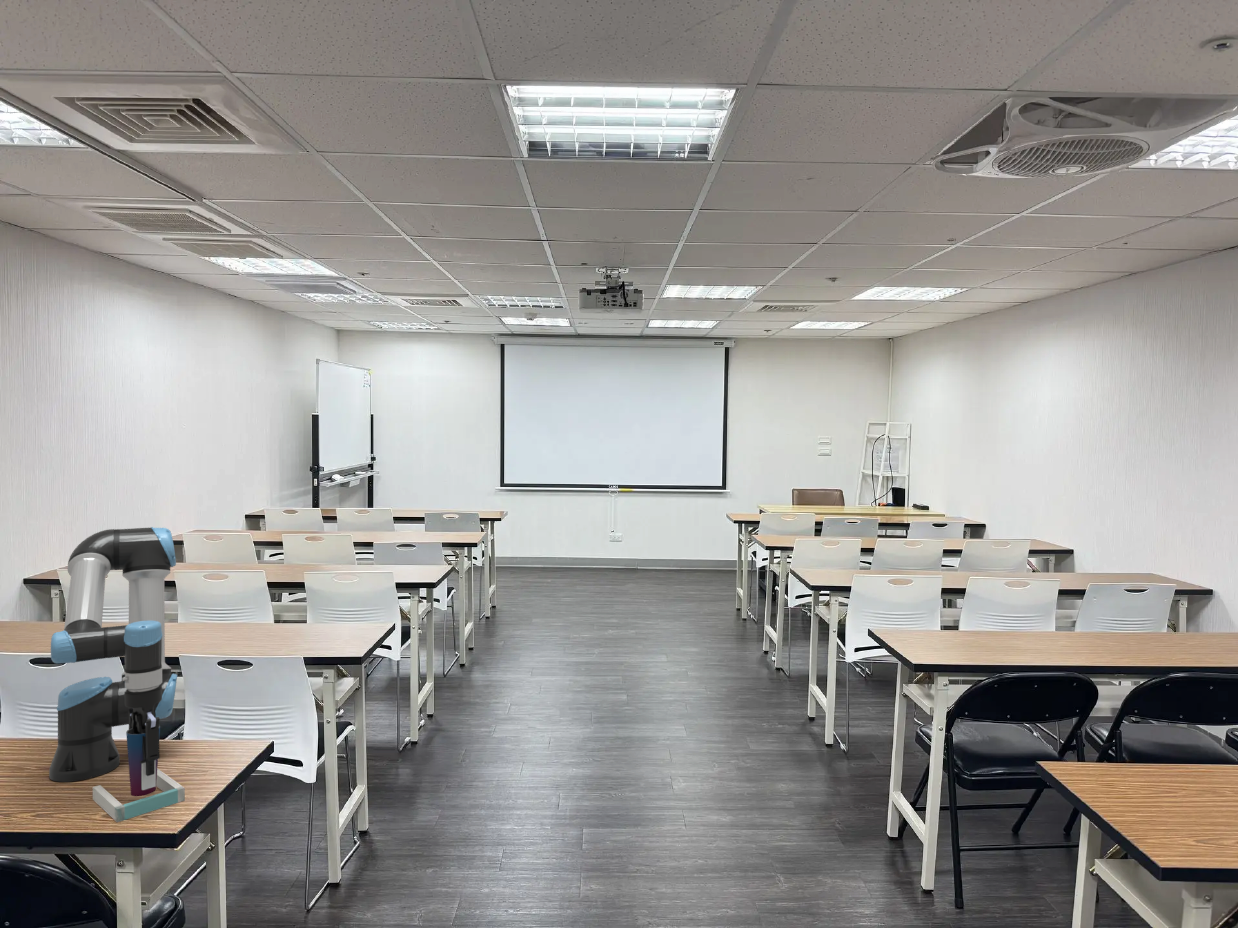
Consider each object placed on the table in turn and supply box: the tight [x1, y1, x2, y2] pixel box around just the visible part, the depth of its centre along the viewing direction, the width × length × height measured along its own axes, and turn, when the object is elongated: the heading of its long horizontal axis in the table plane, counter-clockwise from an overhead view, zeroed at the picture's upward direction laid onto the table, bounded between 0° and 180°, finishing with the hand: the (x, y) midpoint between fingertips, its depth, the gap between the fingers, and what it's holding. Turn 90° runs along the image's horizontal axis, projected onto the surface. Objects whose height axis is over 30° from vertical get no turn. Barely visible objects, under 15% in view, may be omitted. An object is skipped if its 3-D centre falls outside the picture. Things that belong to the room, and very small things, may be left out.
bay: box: [92, 768, 186, 823], centre depth 176 cm, size 18×14×3 cm
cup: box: [125, 724, 161, 797], centre depth 174 cm, size 7×7×15 cm
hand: (143, 783), depth 174 cm, fingers closed on cup, 6 cm apart
